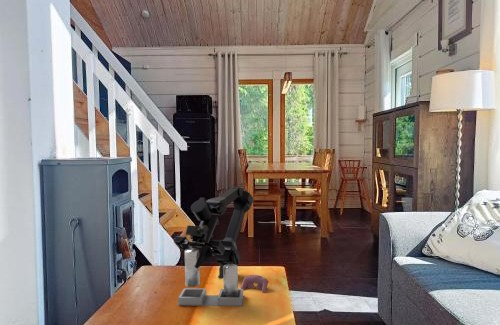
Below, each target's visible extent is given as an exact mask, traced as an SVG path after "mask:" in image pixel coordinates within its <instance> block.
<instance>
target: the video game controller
mask: <svg viewBox="0 0 500 325" xmlns="http://www.w3.org/2000/svg"><path fill="white" fill-rule="evenodd" d="M255 284H257V285H256V286H255ZM268 285H269V280H268V279H267V278H265V277H264V276H262V275H259V274H250V275H249V274H248V275H246V276H245V277H244V278H243V280H242V283H241V286H240V289H243V291H244V290H246V289H247V288H248V289H256V290H261V293H262V294H265V293H267V289H268Z"/></svg>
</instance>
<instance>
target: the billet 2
mask: <svg viewBox="0 0 500 325" xmlns="http://www.w3.org/2000/svg"><path fill="white" fill-rule="evenodd" d="M238 267H239V266H238V265H235V264H227V265H224V266H223V278H222V280H223V289H224V297H238V289H239V272H238V271H239V269H238Z"/></svg>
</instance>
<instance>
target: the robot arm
mask: <svg viewBox="0 0 500 325" xmlns="http://www.w3.org/2000/svg"><path fill="white" fill-rule="evenodd" d="M253 203H254V197H253V195H252V194H251V193H250V192H248V191H247V190H244V189H243V188H242V187H241V186H231V187H229V189H228V190H227V191H225V192H223V193H222V194H221V195H220V196H218V197H213V198H212V197H211V198H210V199H206V198H205V197H199V198H198V200H196V201H193V203H192V204H191V205H190V211H191V212H192V213H193V214H194V216H195V217H196V219H197V221H199V222H200V223H199V225H187V227H186V231H185V235H186V236H187V235H188V236H189V238H190V239H191V240H189V239H188V238H187V237H186V236H183V235H182V236H181V235H177V236H175V238H174V239H173V243H174V244H175V246H176V247H177V248H178V249H179V250H181V251H182V252H183V253H182V266H183V267H185V250H186V249H190V248H198V249H201V250H200V251H201V252H200V253H199V259H198V261H197V264H196V268H199V269H200V267H201V266H202V265H203V264H204V263H205V262H206V261H208V260H209V259H210V258H211V257H215V262H216V264H219V268H218V273H219V274H218V277H217V278H219V279H222V280H223V266H224V265H227V264H235V265H237V266H238V265H240V262H241V256H240V255H239V253H238V248H237V247H238V246H237V243H236V242H237V239H238V236H239V233H240V231H241V226H242V224H243V220H244V217H245V214H246V213H247V212H248V211H250V209H251V208H252V205H253ZM230 204H232V205H233V213H232V216H231V218H230V222H229V224H228V227H227V230H226V234H225V237H224V239H223V240H222V239H220V240H218V239H212V238H214V234H213V233H214V231H215V228H216V226H218V225H220V221H219V217H218V216H222V215H223V214H224V213H225V212H226V211H227V209H228V208H227V207H228V206H229V205H230Z"/></svg>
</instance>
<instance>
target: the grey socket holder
mask: <svg viewBox="0 0 500 325" xmlns="http://www.w3.org/2000/svg"><path fill="white" fill-rule="evenodd" d="M244 298H245V295H244V290H243V289H241V288H238V297H224V288H220V290H219V293H218V294H213V295H212V294H207V288H199V287H197V288H194V287H188V288H185V287H184V288H183V289H182V291H181V292H180V294H179V296H178V298H177V300H178V301H177V302H178V303H177V306H196V307H197V306H199V307H201V306H202V307H203V306H204V307H208V306H209V307H243V306H244V300H245V299H244Z"/></svg>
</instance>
